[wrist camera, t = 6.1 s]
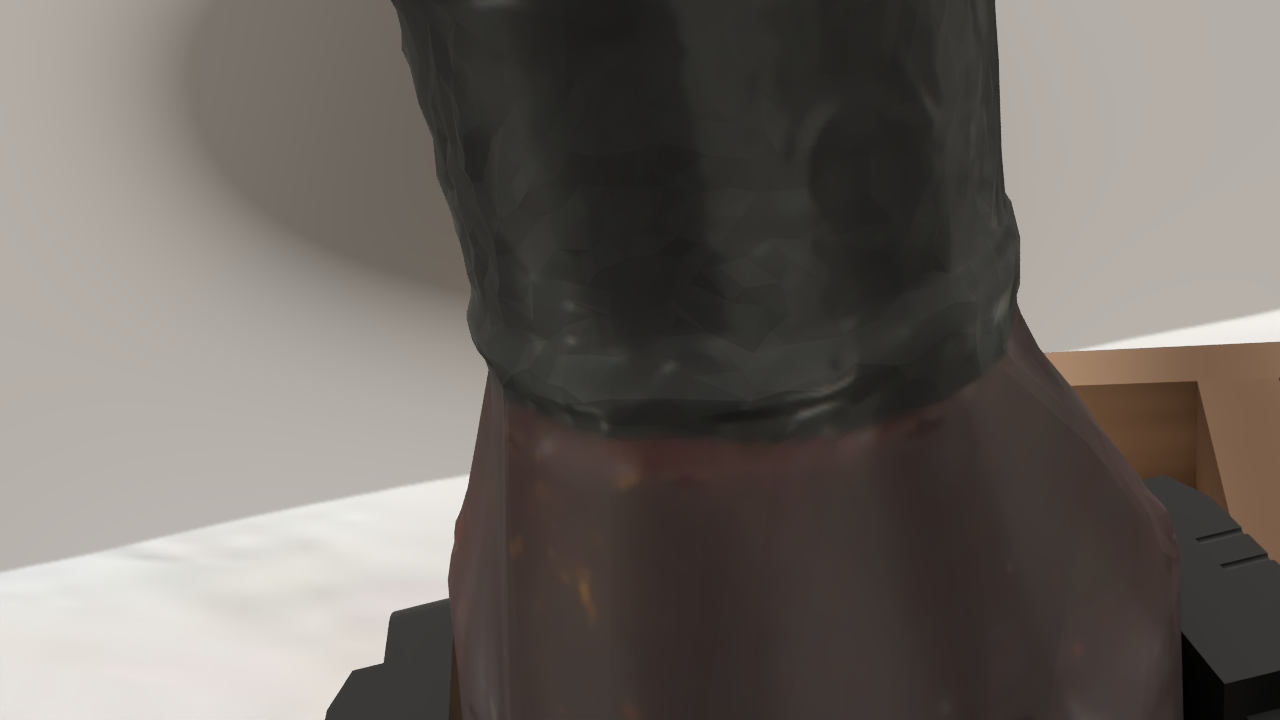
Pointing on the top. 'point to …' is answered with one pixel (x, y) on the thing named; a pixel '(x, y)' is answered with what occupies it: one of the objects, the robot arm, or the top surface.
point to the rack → (1194, 420)
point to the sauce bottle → (769, 379)
